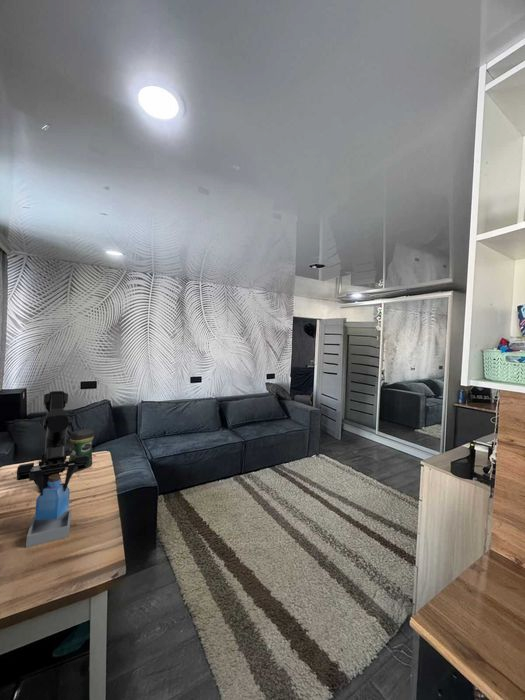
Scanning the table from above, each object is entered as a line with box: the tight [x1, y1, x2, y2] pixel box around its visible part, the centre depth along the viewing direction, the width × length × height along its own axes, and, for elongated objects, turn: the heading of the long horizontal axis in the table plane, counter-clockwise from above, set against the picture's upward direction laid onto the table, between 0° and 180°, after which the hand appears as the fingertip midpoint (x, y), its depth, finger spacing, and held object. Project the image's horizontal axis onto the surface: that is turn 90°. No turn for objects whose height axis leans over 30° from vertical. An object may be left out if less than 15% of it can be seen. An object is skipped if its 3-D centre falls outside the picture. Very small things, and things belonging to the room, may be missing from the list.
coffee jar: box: [68, 427, 95, 472], centre depth 132 cm, size 10×8×19 cm
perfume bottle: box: [34, 473, 71, 520], centre depth 86 cm, size 6×6×12 cm
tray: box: [25, 509, 72, 549], centre depth 86 cm, size 10×10×3 cm
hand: (53, 493), depth 85 cm, fingers closed on perfume bottle, 5 cm apart
